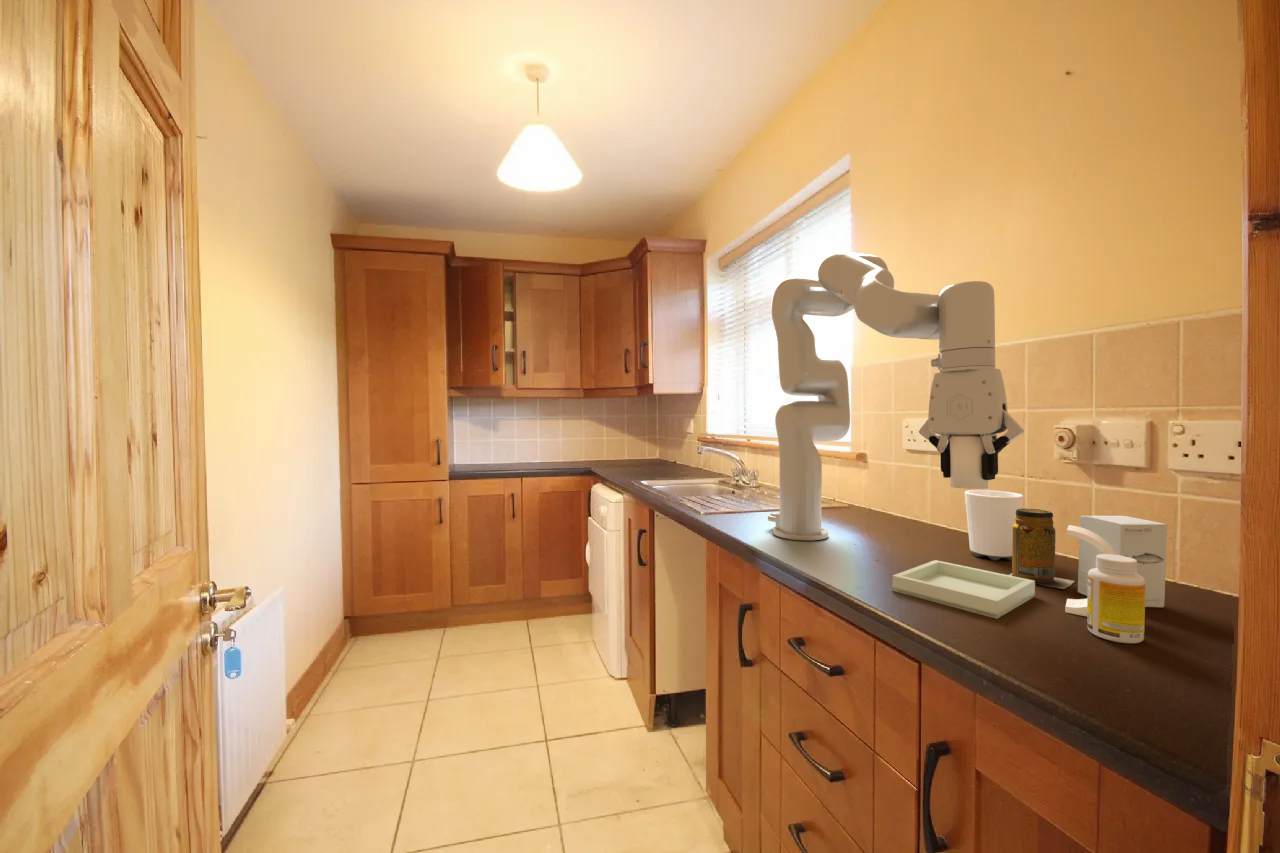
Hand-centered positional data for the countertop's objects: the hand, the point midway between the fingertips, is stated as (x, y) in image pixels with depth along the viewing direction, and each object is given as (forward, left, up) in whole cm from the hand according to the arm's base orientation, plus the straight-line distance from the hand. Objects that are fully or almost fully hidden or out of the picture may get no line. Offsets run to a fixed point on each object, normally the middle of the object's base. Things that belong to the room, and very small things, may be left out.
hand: (968, 477), depth 84 cm
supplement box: (+15, +16, -19) cm, 29 cm away
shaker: (0, 0, -2) cm, 2 cm away
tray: (-1, 0, -19) cm, 19 cm away
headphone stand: (+14, +6, -19) cm, 25 cm away
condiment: (+4, +18, -19) cm, 27 cm away
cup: (-7, +29, -19) cm, 36 cm away
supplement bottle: (+18, -2, -19) cm, 26 cm away
